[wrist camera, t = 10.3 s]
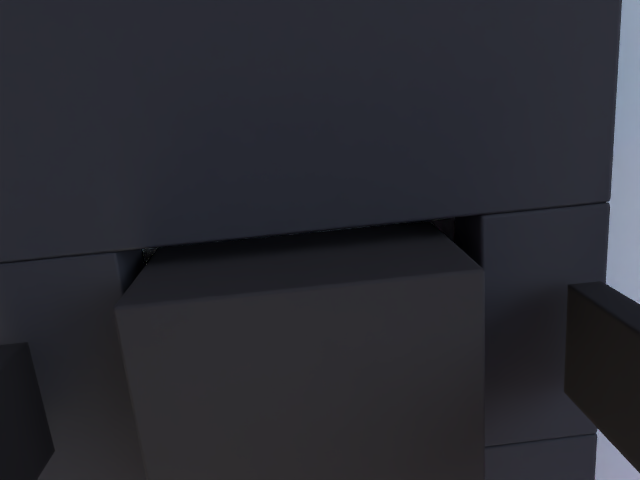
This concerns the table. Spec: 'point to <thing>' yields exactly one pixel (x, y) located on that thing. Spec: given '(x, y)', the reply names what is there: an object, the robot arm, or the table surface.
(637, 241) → the table surface
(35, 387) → the robot arm
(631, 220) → the table surface
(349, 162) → the charcoal pad
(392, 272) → the black pad
